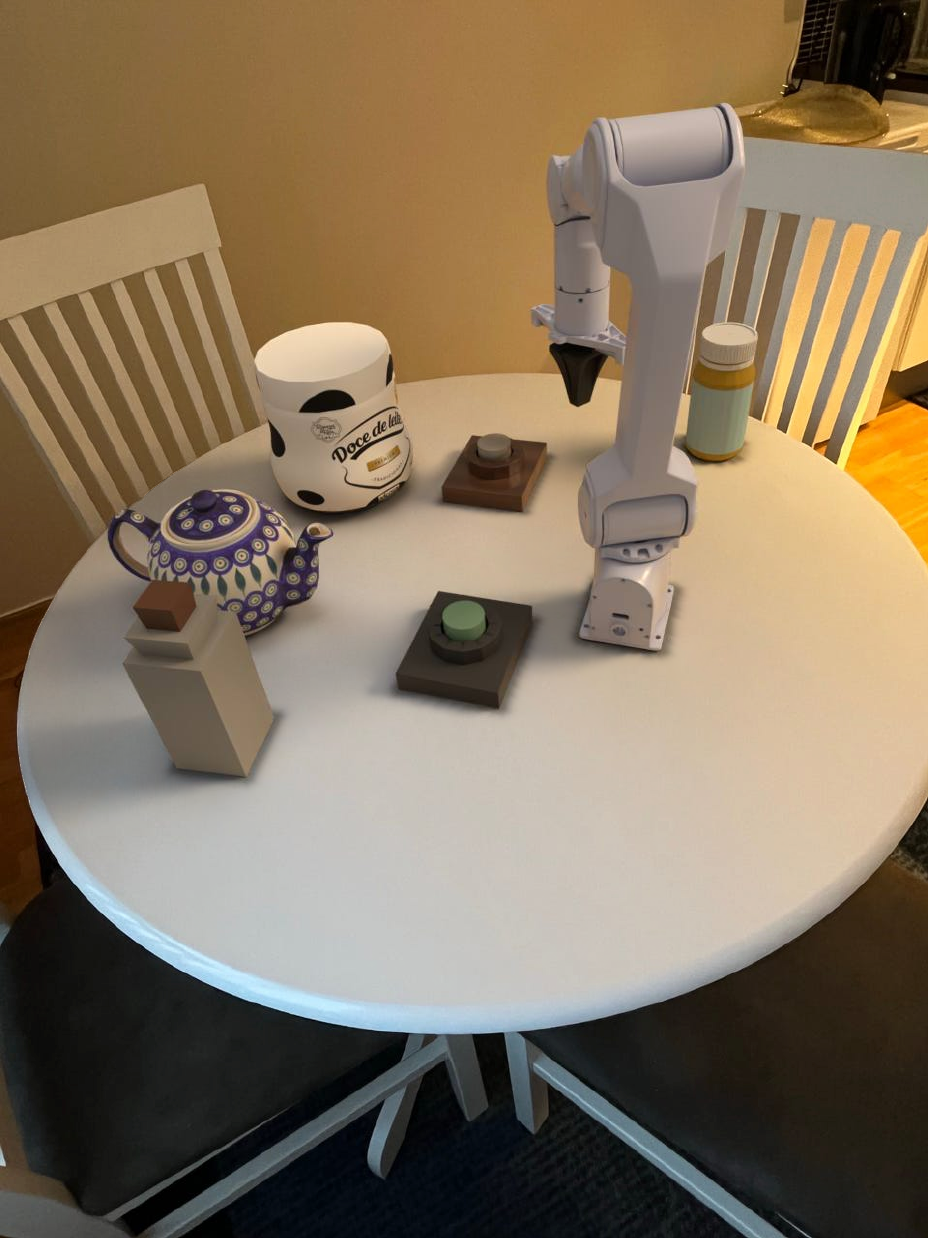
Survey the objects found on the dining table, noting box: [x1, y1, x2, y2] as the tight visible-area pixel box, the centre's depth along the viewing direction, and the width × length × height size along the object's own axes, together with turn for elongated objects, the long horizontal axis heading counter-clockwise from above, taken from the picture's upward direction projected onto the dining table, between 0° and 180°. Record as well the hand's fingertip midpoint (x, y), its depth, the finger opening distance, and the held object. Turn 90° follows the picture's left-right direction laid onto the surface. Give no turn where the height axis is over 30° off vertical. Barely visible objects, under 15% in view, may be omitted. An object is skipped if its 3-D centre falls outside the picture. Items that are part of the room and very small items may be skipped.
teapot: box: [107, 488, 334, 636], centre depth 85 cm, size 25×15×15 cm, turn 76°
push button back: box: [440, 435, 548, 512], centre depth 102 cm, size 12×10×4 cm
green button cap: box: [442, 601, 486, 642], centre depth 79 cm, size 4×4×2 cm
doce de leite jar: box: [253, 321, 414, 514], centre depth 99 cm, size 17×17×18 cm
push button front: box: [395, 590, 534, 709], centre depth 80 cm, size 12×10×4 cm
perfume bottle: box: [121, 580, 275, 778], centre depth 70 cm, size 7×7×18 cm
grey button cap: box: [478, 432, 511, 462], centre depth 101 cm, size 4×4×2 cm
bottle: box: [685, 321, 759, 462], centre depth 100 cm, size 7×7×15 cm
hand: (580, 402), depth 95 cm, fingers closed
